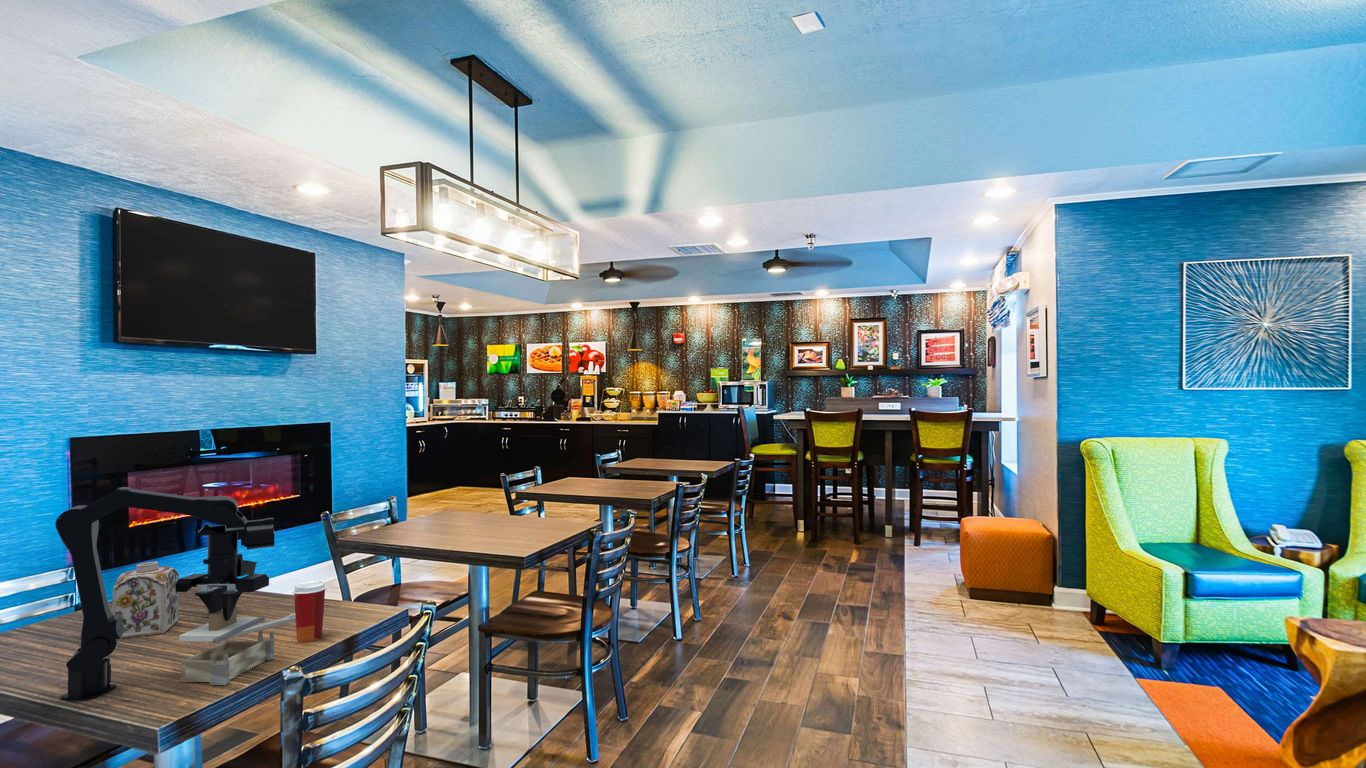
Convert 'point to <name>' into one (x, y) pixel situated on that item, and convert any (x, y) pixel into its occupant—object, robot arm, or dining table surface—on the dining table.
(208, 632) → the cabinet door
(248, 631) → the adjustable wrench
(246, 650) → the cabinet
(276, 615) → the dining table surface
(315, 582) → the paper cup
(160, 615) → the decorative jar
